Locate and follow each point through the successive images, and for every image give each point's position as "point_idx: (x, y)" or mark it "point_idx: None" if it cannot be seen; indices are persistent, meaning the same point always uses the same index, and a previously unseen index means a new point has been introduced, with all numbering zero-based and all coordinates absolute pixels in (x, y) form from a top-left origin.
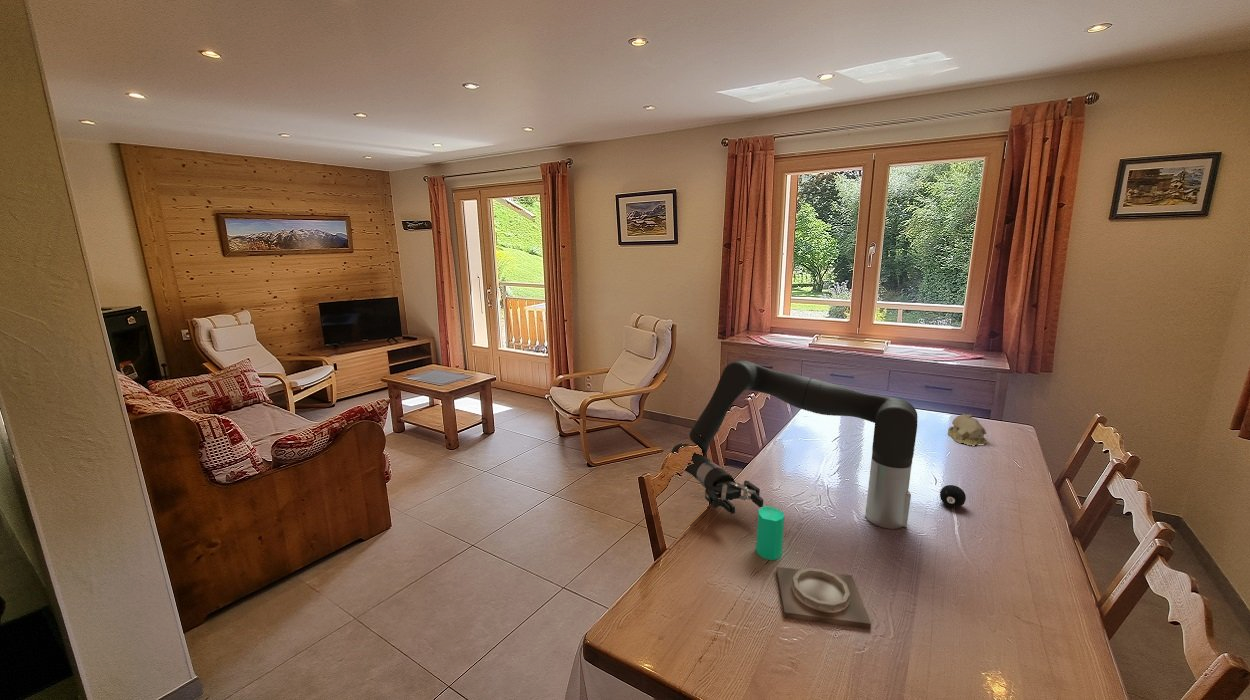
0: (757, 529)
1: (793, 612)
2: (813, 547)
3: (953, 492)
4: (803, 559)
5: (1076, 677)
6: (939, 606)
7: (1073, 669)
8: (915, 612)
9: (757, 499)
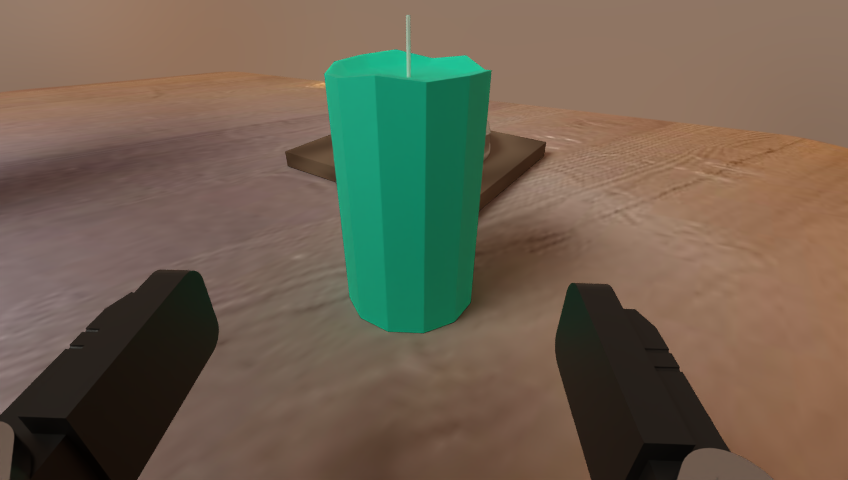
0: (464, 214)
1: (525, 139)
2: (207, 254)
3: None
4: (319, 231)
5: (242, 76)
6: (224, 117)
7: (229, 77)
8: (279, 120)
9: (165, 329)
